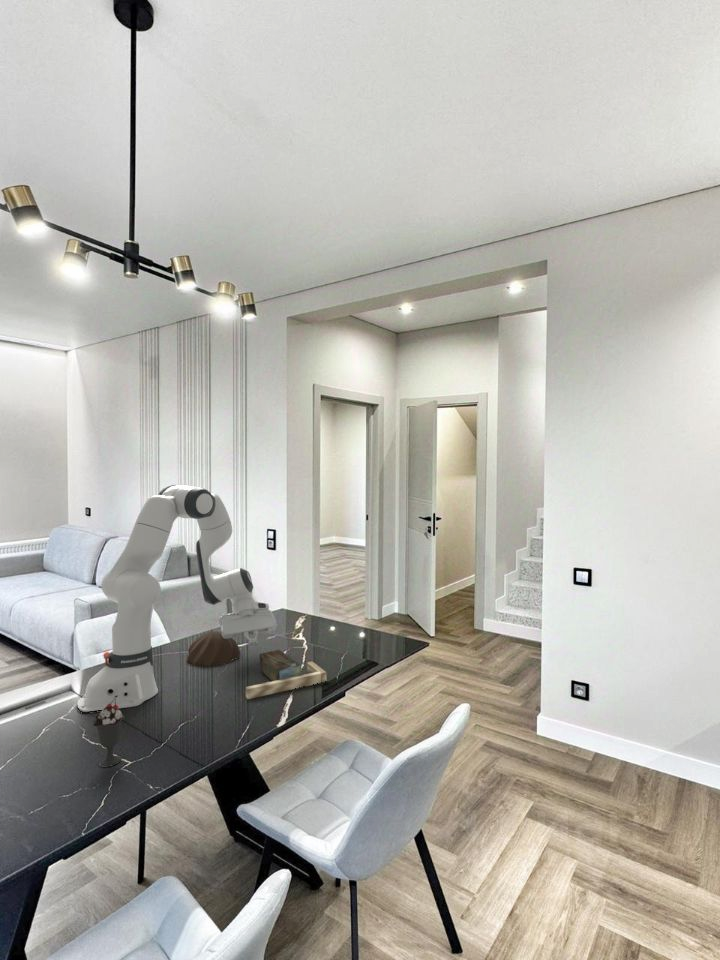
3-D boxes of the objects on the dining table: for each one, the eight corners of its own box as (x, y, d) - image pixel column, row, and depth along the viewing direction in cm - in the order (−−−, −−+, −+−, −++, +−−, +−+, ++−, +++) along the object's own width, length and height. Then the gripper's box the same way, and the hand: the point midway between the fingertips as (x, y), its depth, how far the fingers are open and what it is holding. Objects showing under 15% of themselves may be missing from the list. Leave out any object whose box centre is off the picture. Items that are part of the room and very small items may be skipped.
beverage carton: (279, 689, 164) (278, 668, 164) (258, 671, 181) (258, 652, 181) (302, 683, 168) (301, 663, 168) (280, 666, 185) (280, 647, 185)
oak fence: (247, 699, 157) (247, 689, 157) (237, 685, 168) (237, 676, 168) (326, 681, 169) (326, 672, 169) (312, 670, 180) (312, 661, 180)
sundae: (130, 753, 127) (128, 692, 127) (118, 769, 120) (116, 703, 120) (102, 755, 127) (101, 693, 127) (89, 770, 120) (87, 705, 120)
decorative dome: (224, 668, 185) (223, 640, 185) (175, 665, 190) (174, 637, 190) (249, 650, 203) (249, 625, 203) (204, 648, 208) (203, 623, 208)
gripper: (218, 610, 193) (225, 644, 184) (272, 603, 202) (281, 634, 194) (216, 620, 197) (223, 653, 188) (269, 612, 206) (277, 643, 197)
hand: (253, 643), depth 191 cm, fingers closed
